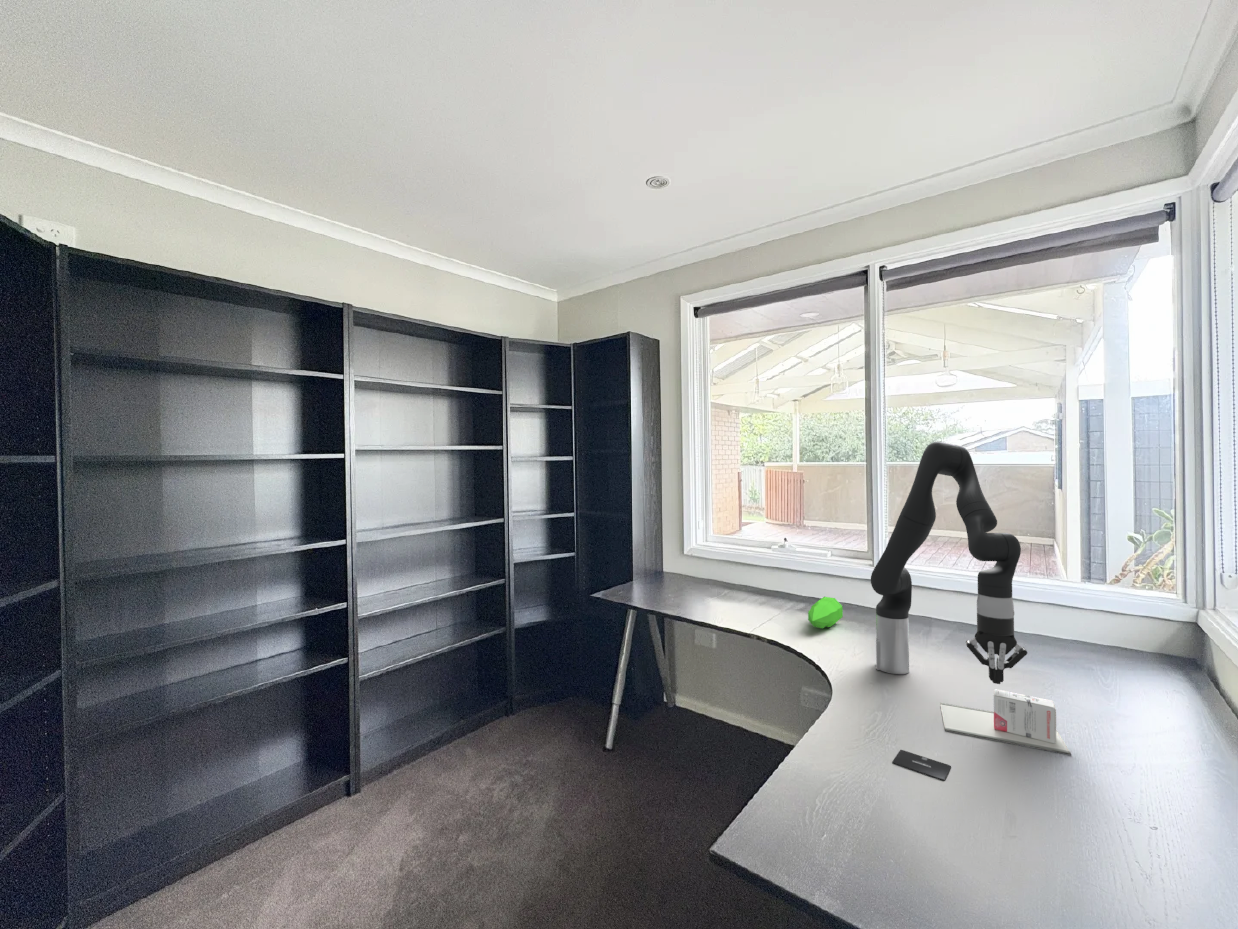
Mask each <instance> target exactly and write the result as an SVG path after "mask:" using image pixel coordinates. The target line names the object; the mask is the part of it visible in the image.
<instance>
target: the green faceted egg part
mask: <svg viewBox="0 0 1238 929" xmlns="http://www.w3.org/2000/svg"><path fill="white" fill-rule="evenodd" d="M843 610H844V609H843V605H842V604H841V603H840V602H839V601H838V600H837V599H836V598H835V597H829V596H822V598H820V599H818V600H817V601H816V602H815V603H813V604H812V605H811V606H810V609H809V610H808V612H807V614H808V615H807V616H808V617H807V620H808V621H809V623H810V624H811V625H812V626H813V628H817V629H824V628H828V627H830V628H831V627H833V625H835V624H836V623H838V622H839V621H840V620H841V619H842V618H843V612H844V611H843ZM825 626H826V627H825Z"/></svg>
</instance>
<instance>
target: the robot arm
mask: <svg viewBox="0 0 1238 929" xmlns="http://www.w3.org/2000/svg"><path fill="white" fill-rule="evenodd" d="M938 475H944V476H948V477H952V478H953V479H954V480H955V481H956V484H957V485H958V488H959V490H958V494H957V496H956V501H955V503H956V509H957V511H958V514H959V515H960V518H961V520H962V522H963V524H964V526H965V530H966V534H967V536H966V537H967V545H968V551H969V553H970V555H971V556H972V557H973V558H974V559H975V560H978V561H979V562H995V563H994V566H993V567H991V568H987V569H983V570H981V571H979V572H978V574H977V599H976V633H975V635H974V638H973V639H970V640H968V639H967V640H966V641H965V645H966V647H967V648H968V650H969V651H970V652H971V653H972V654H973V655H974V657H976V659H977V660H978V661H979V663H980V664H981V665H984V666H987V667H988V678H989V680H990V681H991V682H992V683H993V684H995V685H1001V683H1003V682H1004V670H1006V669H1012V668H1014V667H1015V666H1016V665H1017V664H1018V663H1019V662H1021V660H1022V659H1023V658H1024V657H1026V656H1027V655H1028V650H1027V649H1026V648H1025V647H1024V646H1021V645H1020V644H1019V643H1018V642H1017V639H1016V638H1015V605H1014V601H1013V579H1014V575H1015V573H1016V569H1017V566H1018V563H1019V560H1020V558H1021V551H1022V548H1021V543H1020V541H1019V539H1018V538H1017V537H1016V535H1014V534H1012V533H1008V532H992V531H993V530H995V529H996V527H997V525H998V520H997V517H996V515H995V513H994V512H993V510H992V508H991V506H990V505H989V503H988V501H987V499H986V497H985V496H984V493H983V491H982V488H981V485H980V482H979V477H978V475H977V471H976V468H975V465H974V462H973V459H972V456H971V455H970V453H969V450H968V449H967V448H965V447H963V446H961V445H957V444H953V443H949V442H944V441H943V442H942V441H933V442H930V443H929V444H928V445H927V447H925V449H924V451H923V452H922V455H921V458H920V461H919V464H918V467H917V470H916V474H915V478H914V480H913V483H912V486H911V488H910V492H909V493H908V496H907V498H906V501H905V504H904V505H903V507H902V509H901V511H900V514H899V516H898V518H897V521H896V523H895V527H894V528H893V531H892V533H891V536H890V537H889V540H888V541H887V544H886V547H885V549H884V551H883V553H882V555H881V556H880V558H879V560H878V562H877V563H876V565H875V567H874V568H873V570H872V571H871V572H872V573H871V575H870V584H871V587H872V590H873V591H874V592H875V593H876V594H878V595H880V596H882V597H881V599H880V601H879V602H878V603H877V604H876V605H875V606H876V607H875V616H876V617H875V621H876V622H875V623H876V625H875V626H876V628H875V630H876V631H875V632H876V637H875V651H876V653H875V656H876V658H875V660H876V664H875V666H876V670H878V671H882V672H883V673H889V674H891V675H906V674H909V673H910V645H909V644H910V643H909V642H910V637H909V636H910V635H909V633H910V631H909V612H910V610H911V606H912V598H913V596H912V592H913V585H912V584H913V582H912V577H911V574H910V572H909V570H908V569H907V568H906V567H905V566H906V564H907V562H908V561H909V560H910V559H911V557H912V555H913V554H915V553H916V551H918V549H919V548H920V547H921V546H922V545H923V544H924V542H925V541H926V540H927V538H928V537H929V535H930V532H931V531H932V528H933V526H934V524H935V523H936V518H937V513H936V512H937V511H936V507H935V502H934V498H933V488H934V484H935V481H936V478H937V477H938ZM978 645H979V646H980V647H981V649H983V651H984V652H985V653H986V656H987V657H986V658H985V657H984V656H983V654H982V653H981V652H980V651H979V650H978V648H979V646H978ZM1012 650H1013V653H1012V654H1011V655H1010V656H1009V657H1008V658H1007V659H1006V655H1008V654H1009V653H1010V652H1011V651H1012ZM995 655H996V656H995Z"/></svg>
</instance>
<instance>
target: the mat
mask: <svg viewBox="0 0 1238 929" xmlns="http://www.w3.org/2000/svg"><path fill="white" fill-rule="evenodd" d="M939 705H940V710H941V716H942V723H943V726H944V727H943V728H944V731H945V732H948V733H949V732H950V733H953V734H954V733H955V734H959V735H964V736H970V737H974V738H975V737H976V738H979V739H985V740H991V741H994V742H995V741H996V742H1001V743H1005V744H1010V745H1011V744H1012V745H1016V746H1021V747H1027V748H1030V749H1031V748H1033V749H1038V750H1041V751H1042V750H1043V751H1048V752H1053V753H1058V754H1064V755H1068V756H1071V755H1072V751H1070V750H1069V748H1068V745H1067V744H1066V743H1065V741H1064V739H1063V738H1062V737H1061V734H1060V733H1059V732H1058V730H1057V729H1056V742H1055V744H1054V743H1049V742H1045V741H1041V740H1037V739H1033V738H1029V737H1025V736H1021V735H1017V734H1013V733H1008V732H1004V731H1000V730H996V729H994V711H991V710H985V709H980V708H979V709H978V708H974V707H973V708H972V707H968V706H962V705H956V704H949V703H945V702H939Z"/></svg>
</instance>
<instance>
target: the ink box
mask: <svg viewBox="0 0 1238 929" xmlns="http://www.w3.org/2000/svg"><path fill="white" fill-rule="evenodd" d="M993 712H994V729H996V730H1000V731H1004V732H1008V733H1013V734H1017V735H1021V736H1025V737H1029V738H1033V739H1037V740H1041V741H1045V742H1049V743H1054V744H1055V742H1056V730H1057V708H1056V704H1055V702H1054V700H1052V699H1045V698H1042V697H1036V696H1032V695H1027V694H1022V693H1016V692H1011V691H1008V690H1003V689H996V688H994V689H993Z"/></svg>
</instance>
